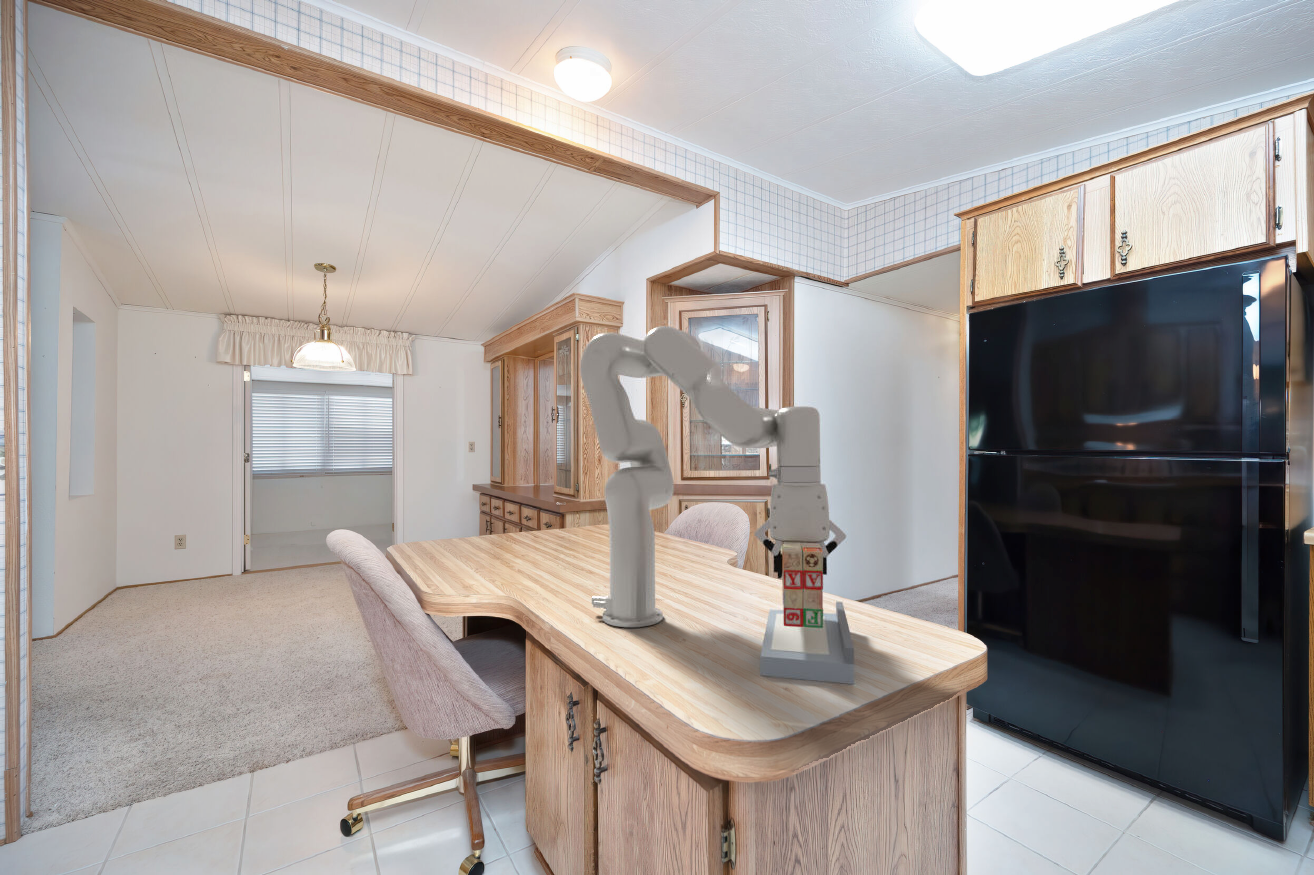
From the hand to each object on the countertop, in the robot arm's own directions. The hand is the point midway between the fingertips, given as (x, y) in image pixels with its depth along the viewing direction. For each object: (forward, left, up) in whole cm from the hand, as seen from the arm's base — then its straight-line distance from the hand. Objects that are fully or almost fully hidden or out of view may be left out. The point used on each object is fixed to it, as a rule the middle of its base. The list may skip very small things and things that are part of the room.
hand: (800, 576), depth 100 cm
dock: (+1, 0, -13) cm, 13 cm away
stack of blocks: (0, +1, -6) cm, 6 cm away
